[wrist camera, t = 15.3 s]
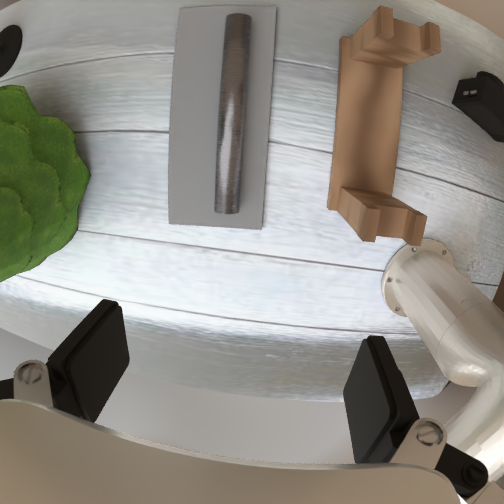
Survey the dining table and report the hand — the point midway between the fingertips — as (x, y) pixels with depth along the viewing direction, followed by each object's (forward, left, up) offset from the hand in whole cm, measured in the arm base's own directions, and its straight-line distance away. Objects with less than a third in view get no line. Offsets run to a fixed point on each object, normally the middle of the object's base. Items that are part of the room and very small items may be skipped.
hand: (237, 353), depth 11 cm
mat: (+5, -10, -28) cm, 31 cm away
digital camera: (-31, -18, -29) cm, 46 cm away
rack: (-13, -10, -28) cm, 33 cm away
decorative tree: (+35, -2, -29) cm, 45 cm away
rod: (+5, -11, -27) cm, 29 cm away
